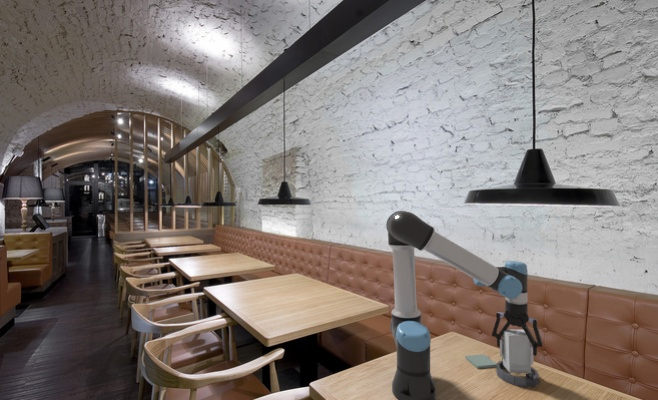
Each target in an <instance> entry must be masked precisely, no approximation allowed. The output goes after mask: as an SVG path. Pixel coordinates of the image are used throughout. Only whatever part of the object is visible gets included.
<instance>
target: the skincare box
mask: <svg viewBox="0 0 658 400" xmlns="http://www.w3.org/2000/svg"><path fill="white" fill-rule="evenodd" d="M502 338H503V356H502V357H503V360H502V361H503V365H504V367H505V368H506V369H505V370H507V371H508V373H509V374H512V373H513V374H528V373H531V367H532V364H531V342H530V340H529V338H528V337H527V335H526V333H525V331H524V330H523V329H507V330H506V331H504V334H503V335H502Z"/></svg>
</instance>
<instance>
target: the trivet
mask: <svg viewBox="0 0 658 400" xmlns="http://www.w3.org/2000/svg"><path fill="white" fill-rule="evenodd" d="M464 359H466V361H468V362H469V363H471V365H472V366H474V367H475V368H476V369H488V368H496V363H497V362H495V361H494V360H492V359H491V358H489V357H488V356H487V355H485V354H483V353H481V354H470V355H468V354H467V355H465V356H464Z"/></svg>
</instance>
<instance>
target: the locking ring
mask: <svg viewBox="0 0 658 400" xmlns="http://www.w3.org/2000/svg"><path fill="white" fill-rule="evenodd" d="M501 358H502V359H501V360H500V361H497V362H495V363H496V367H495V371H496V372H495V373H496V375H497V377H498V378H499V379H500V380H502V381H503V382H505V383H507V384H510V385H513V386H515V387H520V388H521V387H522V388H536V387H537V386H538V385H539V384H540V374H539V372H538V370H537V369H536V368H534V367H533V366H531V373H525V377H522V376H516V375H513V374H512V373H509V372H506V371H505V370H507V369H506V368H505V367H504V365H503V356H502V357H501Z"/></svg>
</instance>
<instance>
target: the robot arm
mask: <svg viewBox="0 0 658 400" xmlns="http://www.w3.org/2000/svg"><path fill="white" fill-rule="evenodd" d="M385 226H386V231H387V236H388V237H387V238H388V246H389V247H390V248H391V249H392V269H393V287H394V288H393V292H394V294H393V295H394V308H393V309H392V310H391V313H390V314H391V321H390V331H391V335H392V337H393V339H394V340H393V341H394V343H395V346H396V371H395V373H394V376H393V380H392V381H391V391H392V394H393V396H394V397H395V398H396V399H397V400H436V396H437V395H436V393H437V391H436V387H435V383H434V380H433V377H432V374H431V341H432V340H431V333H430V330H429V328H428V326H426V325H424V324H423V323H422V311H420V309H419V308H418V307H417V285H416V284H417V282H416V280H417V279H416V258H415V249H417V250H418V251H421V252H422V251H425V252H427V253H429V254H431V255H433V256H434V257H436V258H437V259H439V260H441V261H443V262H444V263H446V264H448V265H450V266H451V267H454V268H456V270H459V271H460V272H461V273H463V274H465V275H467V276H469V277H470V278H471V279H473V283H474V284H475V285H476V286H477V287H487V288H489V289H491V290H493V291H494V292H496V293H498V294H499V295H500V296H502V297H504V299H505V302H504V303H505V304H504V306H505V307H504V308H505V311H504V312H501V311H497V312H496V320H495V323H494V326H493V329H492V333H491V336H492V337H494V338H496V347H498V348H499V357H501V358H502V357H503V334H504V331H506V330H508V329H509V327H510V326H513V327H514V326H515V327H518V328H522V329H523V330H524V331H525V333H526V335H527V337H528V338H529V340H530V342H531V366H533V365H534V363H535V362H534V361H535V360H534V356H537V355H538V348H543V344H544V343H543V340H542V337H541V334H540V330H539V327H538V318H536V317H534V318H532V317H530V316H529V314H528V311H529V310H528V309H529V308H528V276H529V274H528V266H527V264H526V263H525V262H521V261H517V260H509V261H505V263H504V266H495V265H493V264H492V263H489V262H488V261H486V260H485V259H483V258H482V257H480V256H478V255H476V254H474V253H473V252H470V251H469V250H467V249H466V248H464V247H462V246H460V245H458V244H457V243H455V242H454V241H452V240H450V239H448V238H447V237H445V236H443V235H442V234H440V233H438V232H436V229H435V227H433V226H431V225H430V224H428V223H427V222H425V221H424V220H423V219H422V218H420V217H419V216H417V214H415V213H413V212H410V211H406V210H398V211H397V210H396V211H395V212H393V213H391V214H390V215H389V216H388V218H387V221H386V224H385ZM503 317H504V318H505V319H506V323H505V324H504V326H503V327H502V328H501V330H500V331H499V332H498V328H499V325H500V323H501V320H502V319H503ZM528 322H529V323H530V324H531V325H532V329H533V332H534V335H535V338H536V339H535V338H534V336H533V334H532V332H531V330H530V329H529V327H528V325H527V323H528ZM522 329H521V330H522ZM497 332H498V333H497Z"/></svg>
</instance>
